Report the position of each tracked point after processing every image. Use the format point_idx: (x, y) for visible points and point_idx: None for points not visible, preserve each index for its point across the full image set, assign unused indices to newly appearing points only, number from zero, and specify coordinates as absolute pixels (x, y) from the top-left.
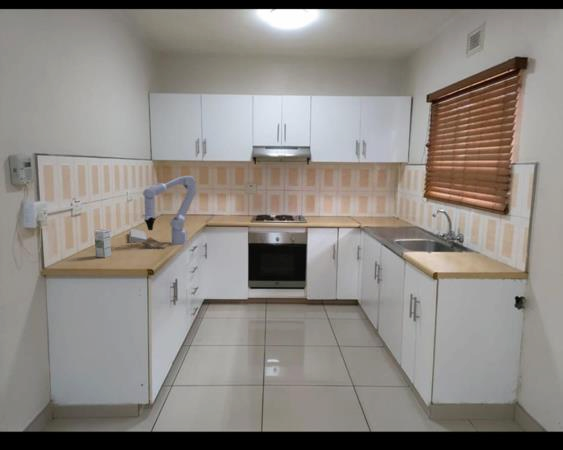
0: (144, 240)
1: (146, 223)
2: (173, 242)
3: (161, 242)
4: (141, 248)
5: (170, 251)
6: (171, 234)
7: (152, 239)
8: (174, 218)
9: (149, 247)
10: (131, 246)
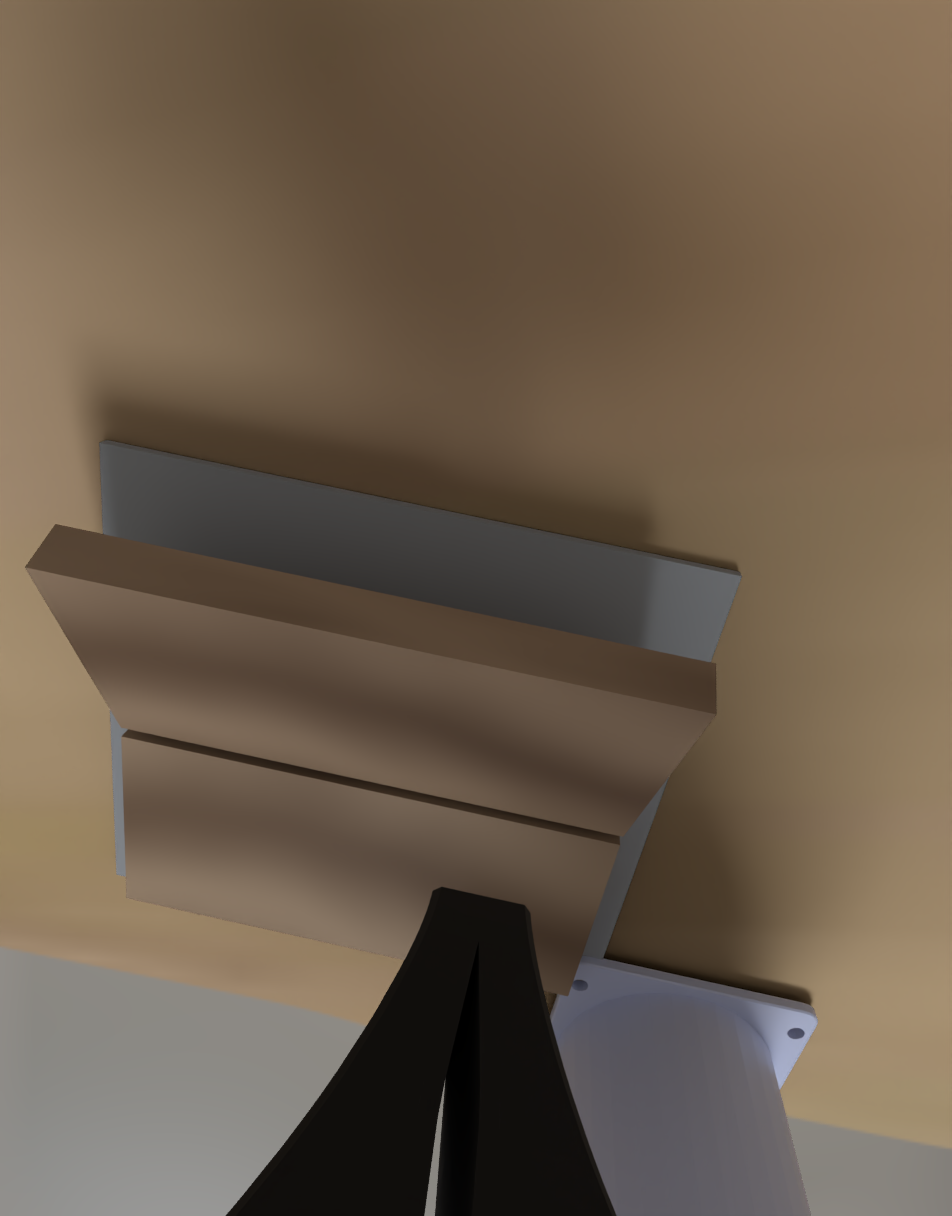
0: (170, 602)
1: (258, 1183)
2: (583, 1035)
3: (607, 863)
4: (164, 465)
5: (3, 930)
6: (669, 1188)
7: (599, 748)
8: None
9: None
10: (528, 128)
